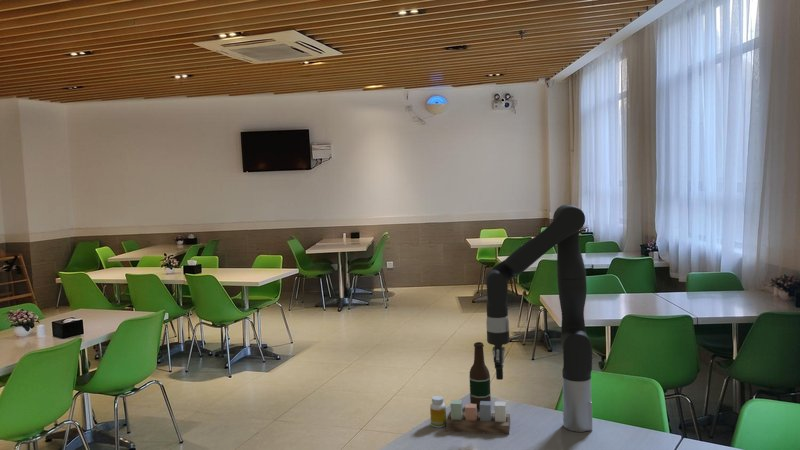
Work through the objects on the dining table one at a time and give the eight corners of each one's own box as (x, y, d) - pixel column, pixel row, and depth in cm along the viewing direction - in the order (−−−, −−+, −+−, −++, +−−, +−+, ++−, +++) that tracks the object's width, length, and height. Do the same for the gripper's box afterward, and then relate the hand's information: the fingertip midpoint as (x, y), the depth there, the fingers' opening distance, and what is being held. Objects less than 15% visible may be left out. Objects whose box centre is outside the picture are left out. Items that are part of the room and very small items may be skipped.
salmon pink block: (477, 420, 212) (476, 403, 212) (476, 424, 209) (475, 407, 208) (466, 420, 213) (466, 403, 213) (465, 424, 210) (465, 407, 209)
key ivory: (506, 418, 210) (505, 401, 210) (505, 423, 207) (505, 405, 206) (495, 418, 211) (495, 401, 210) (494, 422, 207) (494, 405, 207)
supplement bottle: (446, 427, 211) (445, 400, 210) (431, 428, 211) (430, 401, 210) (445, 421, 216) (444, 394, 215) (430, 421, 216) (429, 395, 215)
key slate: (491, 418, 211) (491, 401, 211) (490, 422, 208) (490, 405, 207) (481, 417, 212) (480, 400, 211) (480, 421, 208) (479, 404, 208)
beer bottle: (467, 408, 227) (465, 345, 225) (472, 400, 234) (470, 339, 232) (488, 410, 224) (486, 346, 222) (492, 402, 231) (491, 340, 229)
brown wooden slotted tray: (510, 422, 213) (510, 413, 213) (509, 434, 203) (508, 425, 203) (450, 419, 218) (450, 411, 217) (446, 431, 208) (446, 422, 208)
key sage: (462, 416, 213) (462, 400, 213) (461, 421, 210) (460, 404, 209) (452, 416, 214) (451, 399, 214) (451, 420, 211) (450, 403, 210)
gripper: (508, 334, 199) (510, 386, 200) (509, 323, 212) (511, 372, 213) (485, 334, 200) (487, 385, 202) (488, 323, 213) (489, 372, 215)
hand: (499, 378), depth 207 cm, fingers closed
